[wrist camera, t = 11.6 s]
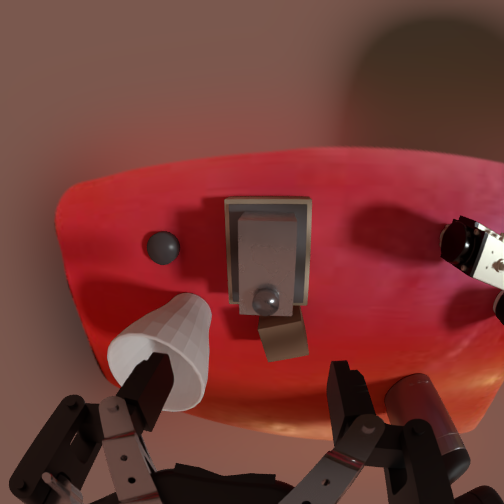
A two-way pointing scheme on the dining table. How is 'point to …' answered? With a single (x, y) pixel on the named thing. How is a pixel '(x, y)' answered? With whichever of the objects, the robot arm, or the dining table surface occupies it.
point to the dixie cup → (499, 306)
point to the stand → (270, 204)
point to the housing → (267, 262)
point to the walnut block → (283, 335)
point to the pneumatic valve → (474, 250)
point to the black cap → (163, 247)
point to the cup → (169, 347)
